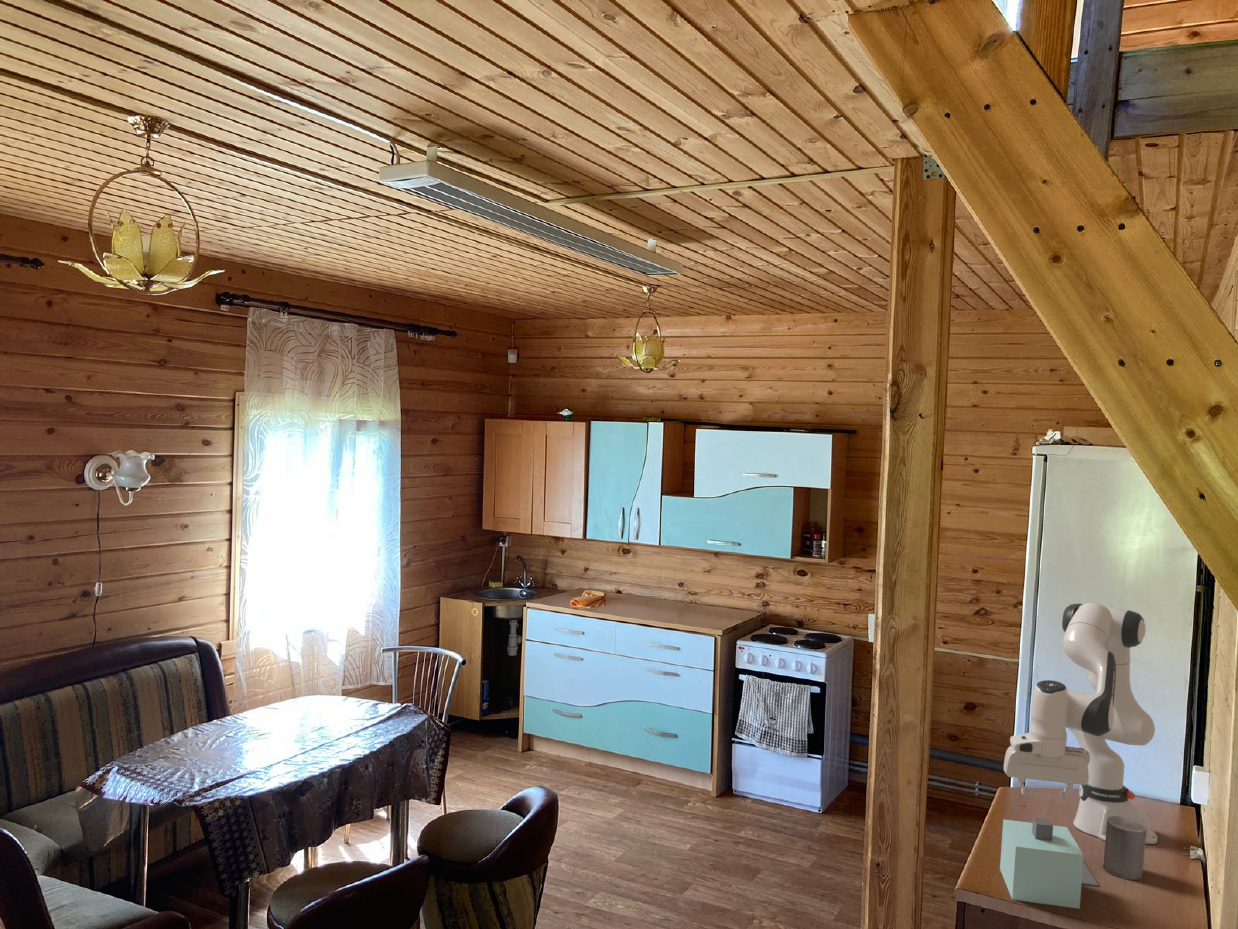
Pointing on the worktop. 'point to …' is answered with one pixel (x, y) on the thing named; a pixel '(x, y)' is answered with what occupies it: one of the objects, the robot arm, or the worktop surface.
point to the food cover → (1041, 863)
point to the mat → (1088, 877)
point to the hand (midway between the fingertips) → (1044, 796)
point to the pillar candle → (1124, 847)
